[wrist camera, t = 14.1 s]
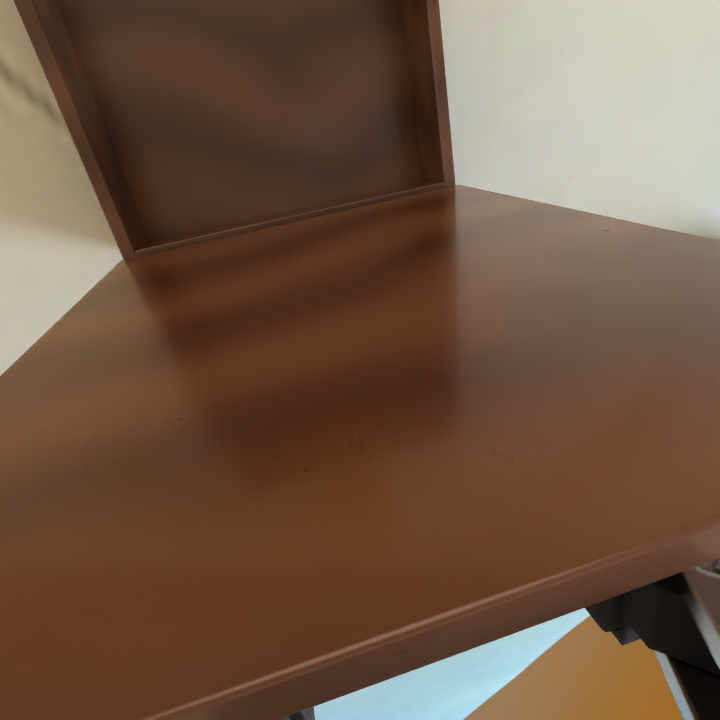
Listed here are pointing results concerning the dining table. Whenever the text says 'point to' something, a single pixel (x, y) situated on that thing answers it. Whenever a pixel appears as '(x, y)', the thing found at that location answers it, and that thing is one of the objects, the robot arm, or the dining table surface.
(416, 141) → the brown wooden tray
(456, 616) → the lid
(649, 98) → the dining table surface
